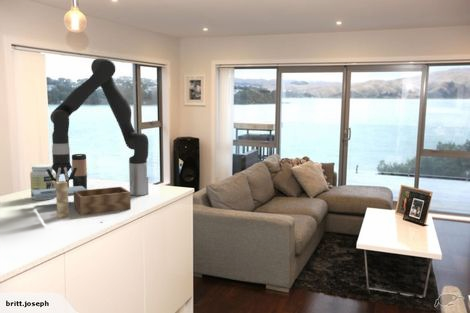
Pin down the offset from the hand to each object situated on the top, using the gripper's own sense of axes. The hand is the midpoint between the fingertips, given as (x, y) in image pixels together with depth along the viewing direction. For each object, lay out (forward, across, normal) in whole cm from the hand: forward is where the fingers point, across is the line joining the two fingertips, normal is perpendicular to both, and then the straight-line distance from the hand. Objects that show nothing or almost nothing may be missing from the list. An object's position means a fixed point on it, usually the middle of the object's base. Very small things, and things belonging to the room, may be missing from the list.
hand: (62, 188), depth 201 cm
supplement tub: (+9, -5, +23) cm, 25 cm away
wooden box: (+9, +14, -17) cm, 24 cm away
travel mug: (+9, +15, +33) cm, 37 cm away
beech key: (+9, -4, -22) cm, 24 cm away
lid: (+2, -1, 0) cm, 2 cm away
